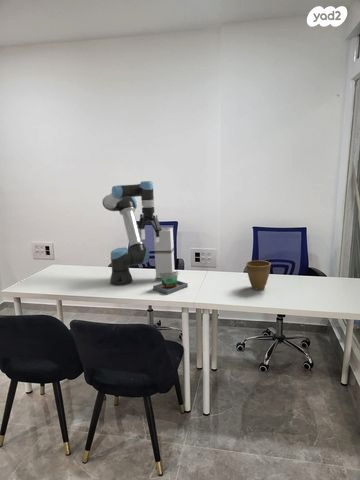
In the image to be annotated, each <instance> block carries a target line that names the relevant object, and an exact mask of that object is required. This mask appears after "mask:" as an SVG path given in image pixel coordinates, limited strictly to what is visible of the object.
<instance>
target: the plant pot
mask: <svg viewBox="0 0 360 480" xmlns="http://www.w3.org/2000/svg"><path fill="white" fill-rule="evenodd" d="M271 264H272V263H271V262H269V261H266V260H250V261H247V262H246V263H245V267H246V271H247V277H248V279H249V284H250V285H251V288H252V289H253V290H257V291H261V290H264V289H265V287H266V285H267V283H268V278H269V276H270V271H271Z"/></svg>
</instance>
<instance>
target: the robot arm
mask: <svg viewBox="0 0 360 480" xmlns="http://www.w3.org/2000/svg"><path fill="white" fill-rule="evenodd" d="M153 183H154V182H153V181H151V180H147V181H146V180H143V181H140V183H136V184H126V185H125V184H123V185H122V184H119V185H113V186H112V187H111V192H110V193H109V194H106V195H105V196H104V197H103V198H102V206H103V208H104V209H105V210H107V211H109V212H119V215H121V216H122V218H123V223H124V227H125V231H126V236H127V239H128V244H129V246H128V247H117V248H115V249H113V250H112V251H111V252H110V261H111V263H110V264H111V275H110V280H109V282H110V285H114V286H125V285H129V284H131V283H133V276H132V274H131V272H130V267H132V266H138V265H144V264H147V263H148V262H149V260H150V248H149V247H148V246H146V245H145V243H144V242H142V241H143V240H146V229H145V227H146V224H147V223H150V225H151V226H152V228H153V231H155V232H153V235H154V234H155V242H159V231H161V228H162V227H161V224H160V221H159V219H158V215H155V214H154V213H155V207H154V206H155V199H154V198H155V197H154V184H153ZM136 197H137V198H138V197H140V199H141V213H140V214H139V221H138V223H137V220H136V216H135V212H136V209H137V206H138V205H137V199H136Z"/></svg>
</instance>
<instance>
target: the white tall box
mask: <svg viewBox="0 0 360 480" xmlns="http://www.w3.org/2000/svg"><path fill="white" fill-rule="evenodd" d="M154 232H155V230H153V246H154V262H155V263H154V264H155V265H154V267H155V277H156V279H155V280H156V282H157V281H158V282H160V281H161V282H162V280H161V276H160V272H161V273H167V272H176V271H175V255H174V254H175V247H174V245H175V244H174V228H173V227H161V231H159V242H155V234H154Z"/></svg>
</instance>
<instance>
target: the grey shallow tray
mask: <svg viewBox="0 0 360 480" xmlns="http://www.w3.org/2000/svg"><path fill="white" fill-rule="evenodd" d="M188 287H189V286H188V283H187V282H185V281H181V280H178V279H177V287H175V288H171V289H166V288H163V286H162V282H161V283H158V284H155V285H153V286H152V290H154V291H156V292H157V293H161V294H164V295H167V296H168V295H172V294H173V293H176V292H178V291H181V290H184V289H186V288H188Z"/></svg>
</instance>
